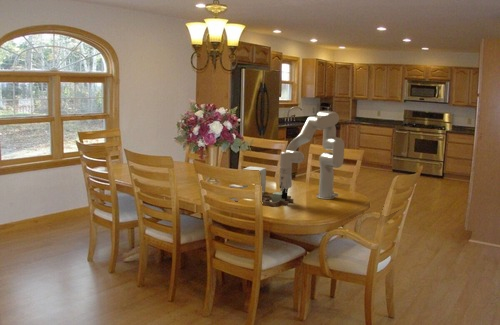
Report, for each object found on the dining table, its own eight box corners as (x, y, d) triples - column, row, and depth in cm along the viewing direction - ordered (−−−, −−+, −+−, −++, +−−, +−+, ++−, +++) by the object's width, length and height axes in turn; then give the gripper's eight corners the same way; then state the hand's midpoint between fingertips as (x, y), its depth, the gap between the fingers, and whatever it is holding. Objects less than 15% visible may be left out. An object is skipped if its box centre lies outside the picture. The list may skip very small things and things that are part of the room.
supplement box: (248, 189, 359) (249, 166, 356) (265, 191, 354) (266, 167, 351) (241, 193, 347) (242, 168, 344) (258, 195, 342) (259, 170, 339)
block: (284, 202, 324) (284, 193, 323) (280, 203, 319) (280, 194, 318) (275, 200, 327) (276, 191, 326) (271, 202, 322) (272, 193, 321)
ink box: (243, 204, 315) (243, 186, 313) (237, 205, 312) (238, 187, 310) (233, 201, 321) (234, 183, 319) (228, 202, 317) (228, 184, 316)
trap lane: (297, 200, 329) (298, 193, 329) (282, 207, 308) (283, 200, 308) (266, 196, 340) (267, 189, 339) (250, 202, 319) (250, 195, 318)
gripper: (286, 173, 309) (285, 201, 312) (295, 169, 322) (294, 197, 325) (275, 171, 313) (274, 200, 316) (285, 168, 326) (283, 195, 329)
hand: (284, 198), depth 320 cm, fingers closed
